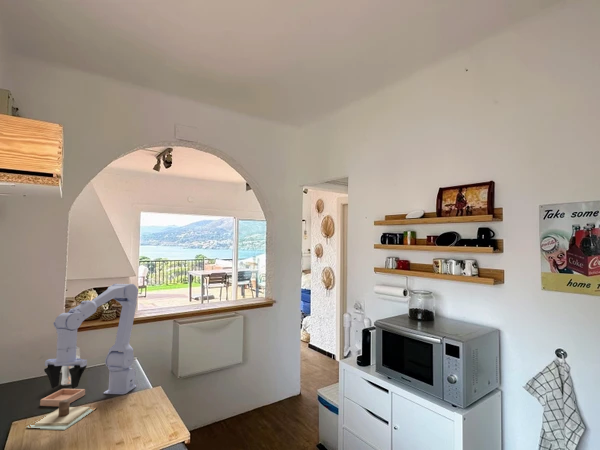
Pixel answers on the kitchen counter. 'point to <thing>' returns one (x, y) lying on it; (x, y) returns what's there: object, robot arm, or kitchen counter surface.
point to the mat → (61, 427)
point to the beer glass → (65, 370)
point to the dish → (62, 396)
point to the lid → (63, 414)
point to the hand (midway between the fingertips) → (64, 387)
